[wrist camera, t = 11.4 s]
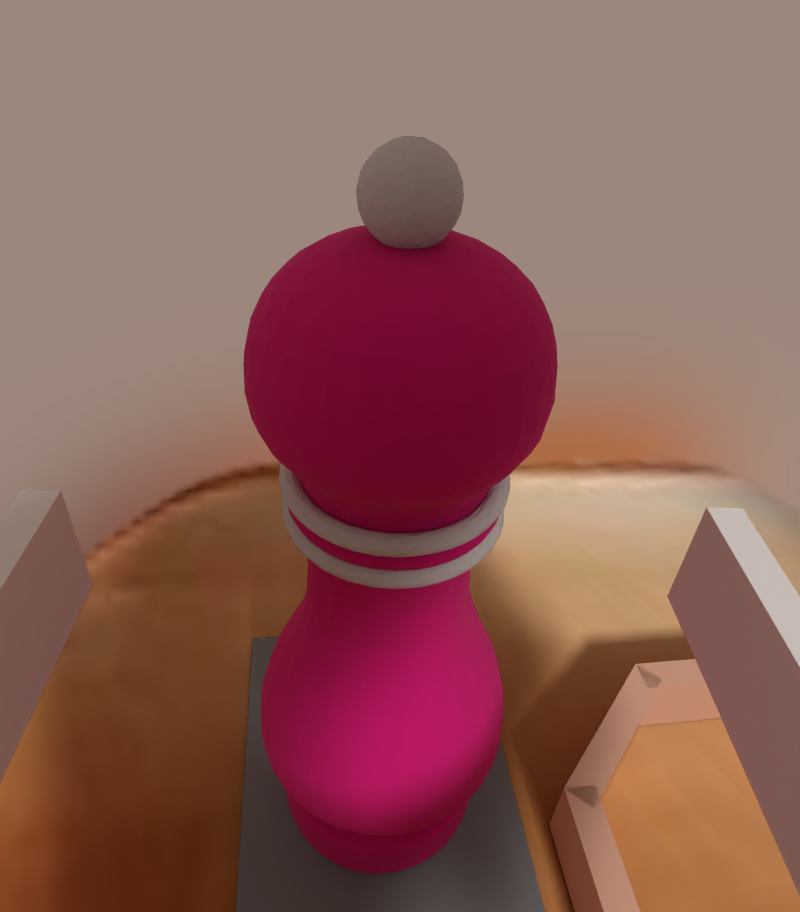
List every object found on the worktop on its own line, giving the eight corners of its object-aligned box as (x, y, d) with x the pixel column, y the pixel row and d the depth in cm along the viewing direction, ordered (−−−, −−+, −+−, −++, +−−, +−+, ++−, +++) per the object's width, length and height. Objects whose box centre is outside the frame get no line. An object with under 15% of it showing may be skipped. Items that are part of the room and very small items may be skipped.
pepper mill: (468, 924, 19) (675, 240, 7) (235, 859, 20) (64, 168, 8) (495, 705, 25) (635, 117, 13) (312, 663, 26) (279, 85, 14)
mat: (468, 628, 28) (469, 622, 28) (557, 973, 19) (559, 969, 18) (253, 644, 27) (252, 638, 27) (231, 1020, 17) (229, 1016, 17)
